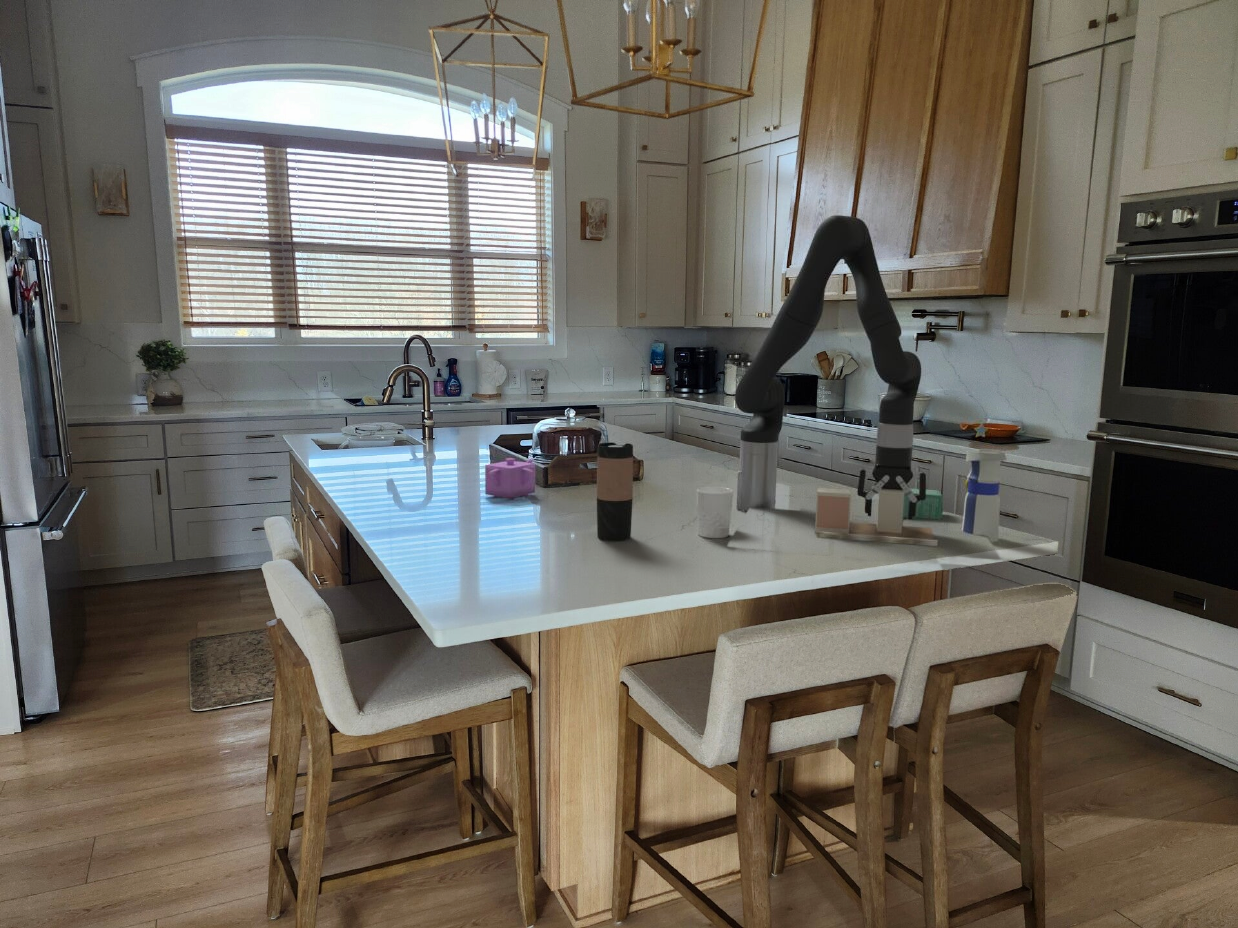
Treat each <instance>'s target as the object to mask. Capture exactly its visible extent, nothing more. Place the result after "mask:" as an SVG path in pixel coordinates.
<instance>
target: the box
mask: <svg viewBox="0 0 1238 928" xmlns="http://www.w3.org/2000/svg"><path fill="white" fill-rule="evenodd" d="M910 489H911V490H912V492H913V493H914V495H917V494H919V488H910ZM904 495H905V499H904V513H903V518H908V509H909V501H910V499H909V497H908V496H907V494H906V493H905V492H904ZM943 498H944V497H943V495H942V494H941V492H940V490H937V489H926V499H925V500H921V501H918V502H917V503H916V513H915V516H914V517H913V518H918V519H932V520H933V519H934V520H936V519H937V520H942V518H943V512H944V499H943Z"/></svg>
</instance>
